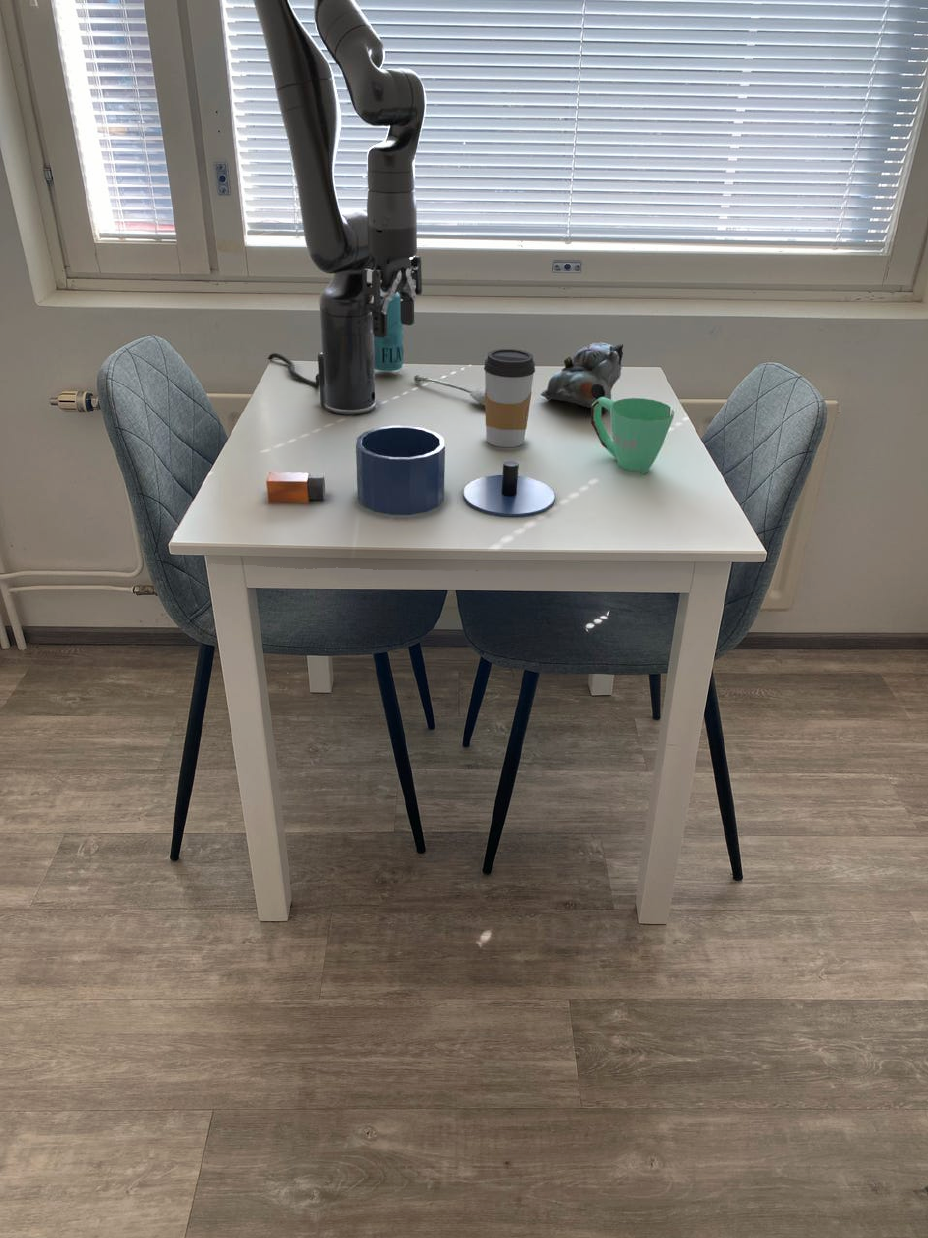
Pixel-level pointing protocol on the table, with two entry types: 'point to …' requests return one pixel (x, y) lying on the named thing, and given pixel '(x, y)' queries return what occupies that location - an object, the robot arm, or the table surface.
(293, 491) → the handle
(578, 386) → the lucky cat figurine
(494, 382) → the coffee cup
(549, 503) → the tin lid
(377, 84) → the robot arm
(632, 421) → the mug
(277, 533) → the table surface
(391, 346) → the beverage bottle
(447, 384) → the soupspoon
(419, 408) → the table surface
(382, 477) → the tin
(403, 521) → the table surface
